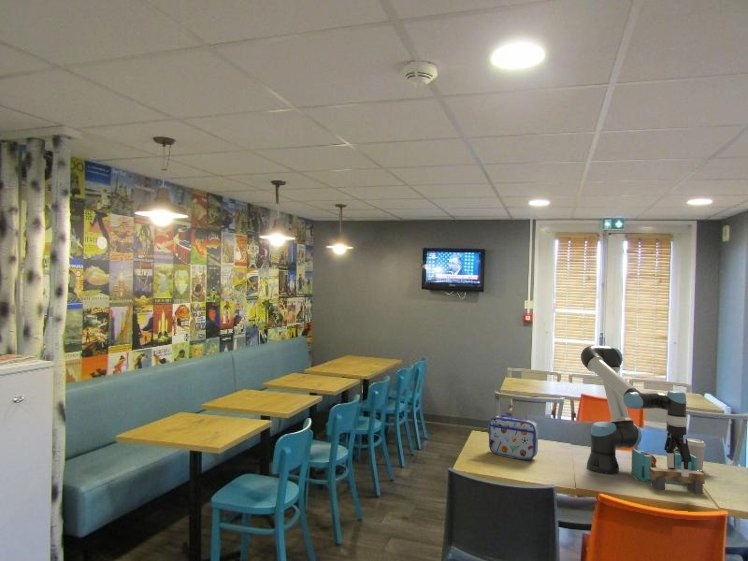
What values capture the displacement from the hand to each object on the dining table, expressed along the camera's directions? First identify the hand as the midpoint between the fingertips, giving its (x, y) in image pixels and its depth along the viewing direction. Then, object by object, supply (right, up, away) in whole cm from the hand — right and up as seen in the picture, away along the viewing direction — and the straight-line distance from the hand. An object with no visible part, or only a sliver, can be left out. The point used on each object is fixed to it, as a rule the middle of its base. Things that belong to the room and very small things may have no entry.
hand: (677, 471), depth 228 cm
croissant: (+7, -11, +38) cm, 41 cm away
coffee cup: (+29, -12, +33) cm, 45 cm away
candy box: (+14, -10, +22) cm, 28 cm away
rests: (0, -8, 0) cm, 8 cm away
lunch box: (-65, -8, +43) cm, 78 cm away
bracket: (+1, -9, +13) cm, 16 cm away
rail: (0, -4, 0) cm, 4 cm away
